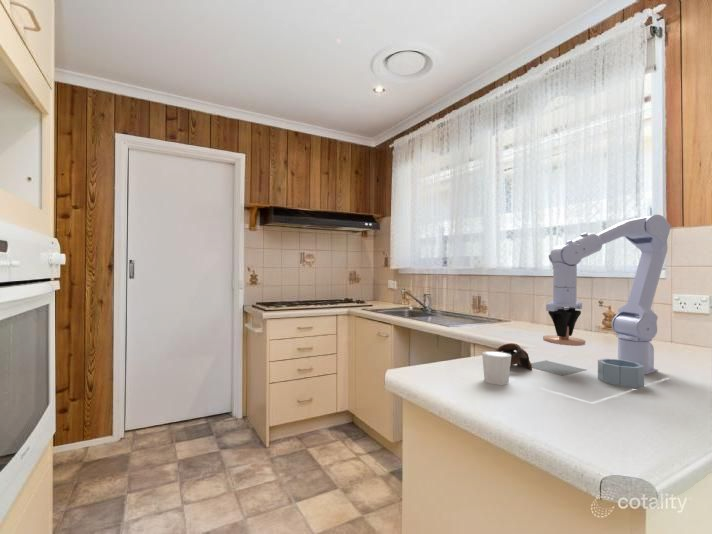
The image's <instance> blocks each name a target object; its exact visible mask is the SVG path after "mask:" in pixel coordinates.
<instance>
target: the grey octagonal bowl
mask: <svg viewBox="0 0 712 534" xmlns="http://www.w3.org/2000/svg"><path fill="white" fill-rule="evenodd" d="M597 379H598V380H599V381H602V382H603V383H605V384H610V385H613V386H618V387H624V388H625V387H627V388H633V390H638V389H641V388H644V387H645V374H644V366H643V365H641V364H639V363H636V362H631V361H626V360H620V359H618V358H616V359H615V358H601V359H598V360H597Z"/></svg>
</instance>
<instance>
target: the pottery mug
mask: <svg viewBox="0 0 712 534" xmlns="http://www.w3.org/2000/svg"><path fill="white" fill-rule="evenodd" d="M495 351H499V352H505V353H508V354H511V363H510V367H511V366H515V365H516V366H520V367H525V368H528V369H529V370H531V371H532V370H533V368H532V364H531V360H530V358H529V353H528V352H527V351H526V350H525V349H523V348H522V347H521V346H520V345H519V344H517V343H512V342H511V343H506V344H502V345H500V346H499V347H497V348H496V349H495Z"/></svg>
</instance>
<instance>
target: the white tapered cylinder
mask: <svg viewBox="0 0 712 534" xmlns="http://www.w3.org/2000/svg"><path fill="white" fill-rule="evenodd" d="M481 355H482V365H483V366H482V367H483V368H482V369H483V378H484V380H483V381H484V382H486V383H488V384H491V383H492V384H493V385H496V384H505V385H508V384H509V380H510V379H509V378H510V372H511V366H510V363H511V354H508V353H505V352H503V351H502V352H499V351H496V350H486V351H483V352H481ZM507 383H508V384H507Z"/></svg>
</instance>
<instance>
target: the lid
mask: <svg viewBox="0 0 712 534" xmlns="http://www.w3.org/2000/svg"><path fill="white" fill-rule="evenodd" d="M542 341H545V342H547V343H548V344H549V343H550V344H556V345H561V346H562V345H563V346H572V347H573V346H574V347H575V346H576V347H577V346H579V347H580V346H581V347H582V346H585V345H586V340H585V339H583V338H580V337H576V336H569V326H567V333H566V337H561V336H557V334H555V335H554V334H549V335H542Z"/></svg>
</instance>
